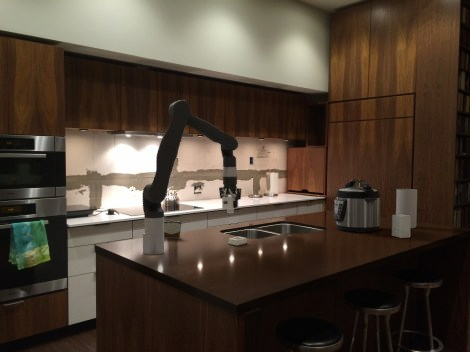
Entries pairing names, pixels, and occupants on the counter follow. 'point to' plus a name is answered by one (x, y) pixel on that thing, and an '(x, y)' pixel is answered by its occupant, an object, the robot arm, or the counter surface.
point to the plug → (228, 204)
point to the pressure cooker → (357, 208)
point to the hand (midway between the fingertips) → (230, 207)
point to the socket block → (237, 241)
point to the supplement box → (401, 225)
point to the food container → (172, 228)
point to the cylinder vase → (407, 204)
